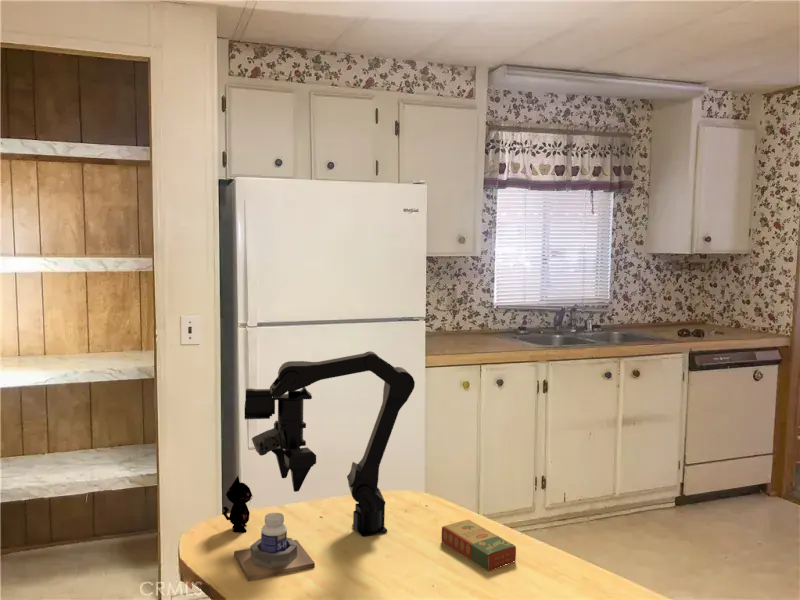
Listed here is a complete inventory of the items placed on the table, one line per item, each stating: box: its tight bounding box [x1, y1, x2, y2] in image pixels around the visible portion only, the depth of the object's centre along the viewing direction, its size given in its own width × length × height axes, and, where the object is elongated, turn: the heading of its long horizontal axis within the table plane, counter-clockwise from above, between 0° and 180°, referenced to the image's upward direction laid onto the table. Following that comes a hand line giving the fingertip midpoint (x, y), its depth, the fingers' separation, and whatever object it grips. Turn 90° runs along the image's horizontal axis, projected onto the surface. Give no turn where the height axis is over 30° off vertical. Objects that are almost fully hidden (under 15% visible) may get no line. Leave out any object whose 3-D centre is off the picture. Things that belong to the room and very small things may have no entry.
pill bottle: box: [260, 512, 288, 553], centre depth 143 cm, size 5×5×9 cm
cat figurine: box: [222, 475, 253, 534], centre depth 158 cm, size 7×7×12 cm
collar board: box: [233, 537, 316, 582], centre depth 143 cm, size 14×12×4 cm
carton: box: [440, 519, 517, 572], centre depth 150 cm, size 8×16×4 cm, turn 34°
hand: (290, 484), depth 155 cm, fingers open, 9 cm apart
